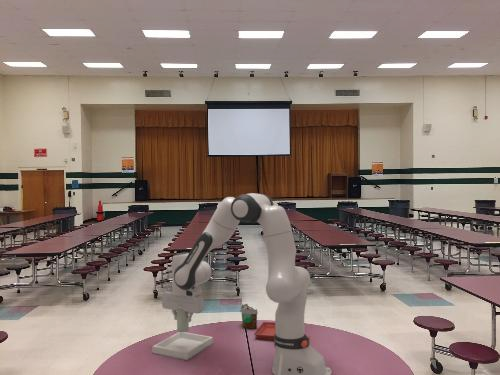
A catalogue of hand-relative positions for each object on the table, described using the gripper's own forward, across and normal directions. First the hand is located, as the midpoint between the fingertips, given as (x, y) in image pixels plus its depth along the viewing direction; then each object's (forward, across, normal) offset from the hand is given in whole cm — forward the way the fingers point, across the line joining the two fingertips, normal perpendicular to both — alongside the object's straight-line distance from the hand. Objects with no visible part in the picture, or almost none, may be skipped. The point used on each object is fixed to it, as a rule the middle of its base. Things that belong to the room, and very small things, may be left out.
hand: (182, 320), depth 189 cm
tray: (+12, 0, 0) cm, 12 cm away
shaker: (+4, 0, 0) cm, 4 cm away
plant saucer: (+13, +31, +32) cm, 46 cm away
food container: (+12, +13, +36) cm, 40 cm away
